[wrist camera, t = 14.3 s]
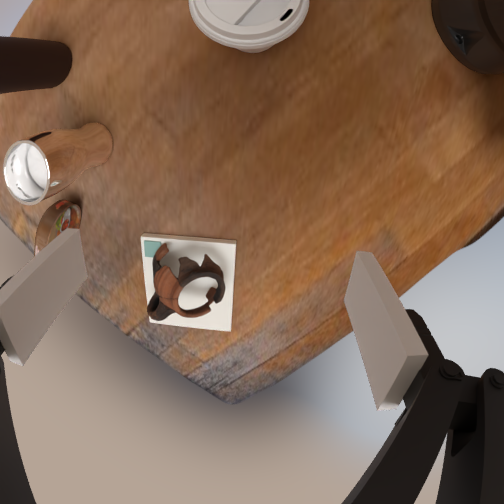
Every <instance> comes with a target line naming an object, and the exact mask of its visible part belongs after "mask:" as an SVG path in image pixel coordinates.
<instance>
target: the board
mask: <svg viewBox="0 0 504 504" xmlns="http://www.w3.org/2000/svg"><path fill="white" fill-rule="evenodd" d="M236 241H237V240H226V239H214V238H201V237H189V236H176V235H163V234H150V233H143V234H142V236H141V245H142V257H143V268H144V277H145V286H146V295H147V303H148V304H149V301H150V299H151V298H152V296H153V294H154V293H155V288H154V283H153V266H152V261H153V257H154V255H155V253H156V251H157V250H158V249H159V247H160V246H161V245H163V244H164V243H166V244H167V247H168V249H169V252H168V253H167V254H166V255H165V256H164V257H163V258H162V259H161V260H160V265H161V266H162V267H163V266H165V265H166V266H168V267H170V269H171V271H172V273H173V274H174V275H175V276H176V277H177V278H178V275H179V267H180V263H179V260H178V259H179V258H180V257H188V258H189V259H191V260H194V261H196V262H197V263H198V264H199V266H201V264H202V262H203V260H204V255H205V254H207V255H208V256H209V257H210V259H211V260H212V261H213V262H214V263H216V264H217V265H219V266H220V268H221V270H222V271H223V276H224V283H225V287H226V288H225V293H224V297H223V299H222V301H221V302H219V303H217V304H216V303H215V302H213V303H212V304H210V305H209V307H210V308H211V311H210V312H209V313H207V314H205V315H203V316H200V317H196V318H186V317H182V316H180V315H179V314H177V313H173V314H171V315H169V316H168V317H167V318H166V319H164V320H162V321H156V320H153V319H151V318H150V316H149V318H150V322H152V323H159V324H167V325H175V326H184V327H192V328H201V329H211V330H221V331H231V325H232V307H233V289H234V273H235V256H236ZM211 287H213V288H217V287H218V283H217V281H216V280H215V279H213V278H210V277H201V278H198V279H195V280H193V281H191V282H190V283H189V284H187V285H186V286H185V287H184V288H183V290H182V291H181V293H180V295H179V298H178V304H179V306H180V307H181V308H182V309H185V310H189V309H195V308H198V307H200V306H202V305H204V304H205V303H206V302H208V299H207V298H206V294H207V292H208V290H209V289H210V288H211Z"/></svg>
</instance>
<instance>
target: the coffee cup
mask: <svg viewBox="0 0 504 504" xmlns="http://www.w3.org/2000/svg"><path fill="white" fill-rule="evenodd" d="M308 8H309V0H189V10H190V13H191V16H192V19H193V21H194V22H195V24H196V25H197V27H198V28H199V29H200V30H201V31H202V32H203V33H204V34H205V35H206V36H208V37H209V38H210V39H212V40H214V41H216V42H218V43H220V44H222V45H225V46H228V47H233V48H237V49H238V50H241V51H243V52H248V53H258V52H262V51H265V50H267V49H269V48H271V47H272V46H273V45H274V44H276V43H279V42H281V41H283V40H284V39H286V38H288V37H289V36H290V35H292V34H293V33H294V32H295V31H296V30H297V29H298V28H299V27H300V25H301V24H302V23H303V21H304V19H305V17H306V15H307V12H308Z"/></svg>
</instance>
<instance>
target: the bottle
mask: <svg viewBox="0 0 504 504" xmlns="http://www.w3.org/2000/svg"><path fill="white" fill-rule="evenodd" d="M71 62H72V59H71V53H70V50H69V48H68V47H67V46H66V45H65V44H63V43H60V42H54V41H46V40H38V39H28V38H17V37H1V36H0V94H2V93H9V92H17V91H25V90H34V89H45V88H53V87H55V86H57V85H59V84H60V83H61V82H62V81H63V80H64V79H65V78H66V76H67V75H68V72H69V70H70V68H71Z"/></svg>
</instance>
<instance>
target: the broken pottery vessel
mask: <svg viewBox="0 0 504 504" xmlns="http://www.w3.org/2000/svg"><path fill="white" fill-rule="evenodd" d="M168 252H169V249H168V247H167V244H166V243H164V244H163V245H161V246H160V247H159V249H158V250H157V251H156V253H155V255H154V257H153V261H152V266H153V283H154V288H155V293H154V294H153V296H152V298H151V299H150V301H149V304H148V307H147V312H148V315H149V316H150V318H151V319H153V320H156V321H162V320H164V319H166V318H167V317H168V316H169V315H171V314H173V313H177V314H179V315H180V316H182V317H186V318H196V317H200V316H203V315H205V314H207V313H209V312H210V311H211V308H210V307H209V305H210V304H212V303H213V302H215V303H216V304H217V303H219V302H221V301H222V299H223V297H224V293H225V288H226V287H225V283H224V276H223V271H222V270H221V268H220V266H219V265H217V264H216V263H214V262H213V261H212V260H211V259H210V257H209V256H208V255H207V254H205V255H204V260H203V262H202V264H201V266H199V264H198V263H197V262H196V261H194V260H191V259H189V258H188V257H180V258H179V259H178V260H179V263H180V267H179V275H178V278H177V277H176V276H175V275H174V274H173V273H172V271H171V269H170V267H168V266H166V265H165V266H163V267H162V266H161V265H160V260H161V259H162V258H163V257H164V256H165V255H166V254H167V253H168ZM201 277H210V278H213V279H215V280H216V281H217V283H218V287H217V288H213V287H211V288H210V289H209V290H208V292H207V294H206V298H207V299H208V302H206V303H205V304H204V305H202V306H200V307H198V308H195V309H189V310H185V309H182V308H181V307H180V306H179V304H178V298H179V295H180V293H181V291H182V290H183V288H184V287H185V286H186V285H187V284H189V283H190V282H191V281H193V280H195V279H198V278H201Z"/></svg>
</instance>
